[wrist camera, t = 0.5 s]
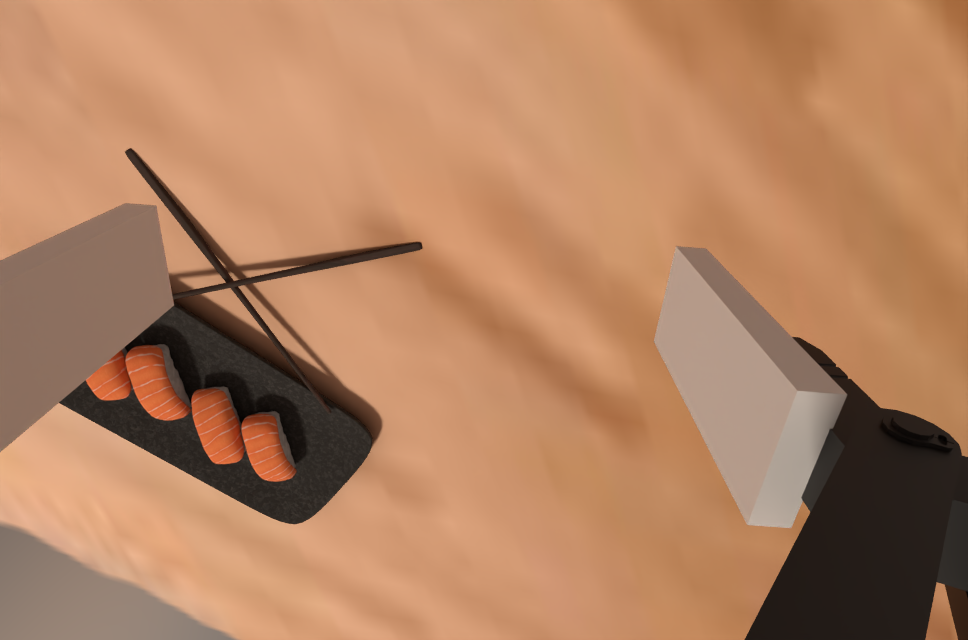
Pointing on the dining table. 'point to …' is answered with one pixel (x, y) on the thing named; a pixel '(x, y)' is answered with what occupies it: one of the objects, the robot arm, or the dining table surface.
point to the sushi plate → (228, 401)
